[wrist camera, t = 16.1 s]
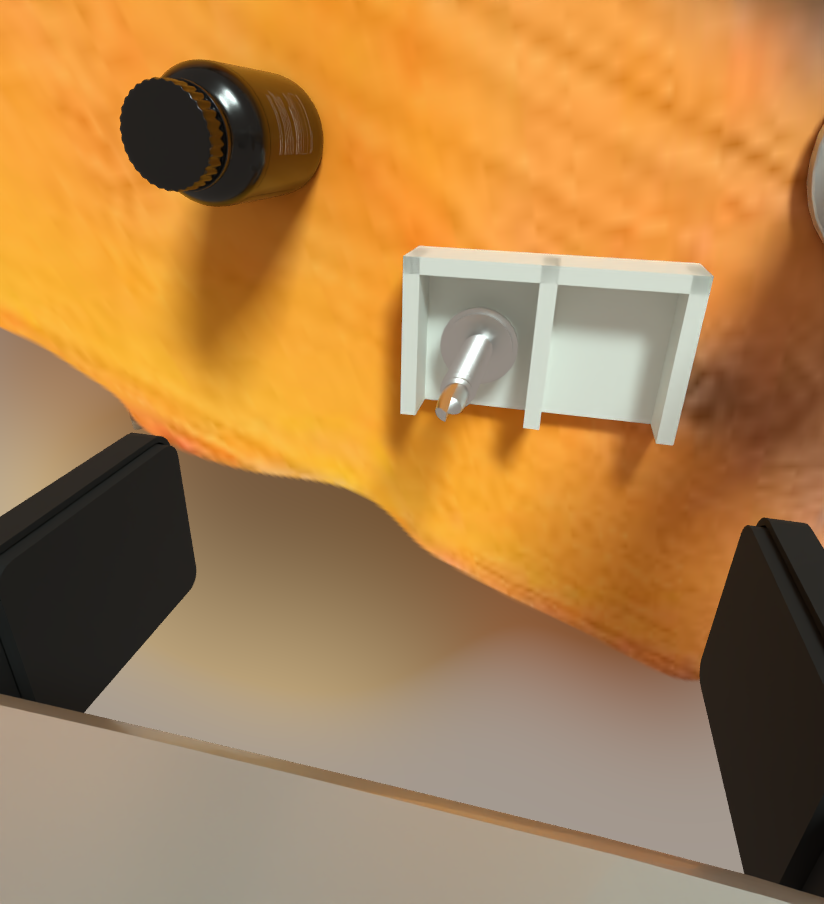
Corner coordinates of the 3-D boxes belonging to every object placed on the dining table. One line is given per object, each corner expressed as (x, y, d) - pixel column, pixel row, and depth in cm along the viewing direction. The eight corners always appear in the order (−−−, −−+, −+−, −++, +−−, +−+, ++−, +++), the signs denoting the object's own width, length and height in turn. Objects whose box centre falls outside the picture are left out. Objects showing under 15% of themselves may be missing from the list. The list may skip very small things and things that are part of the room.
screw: (530, 311, 39) (508, 381, 41) (456, 291, 39) (438, 361, 42) (511, 380, 28) (482, 471, 30) (408, 350, 28) (387, 442, 30)
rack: (699, 263, 37) (713, 276, 33) (664, 418, 41) (673, 445, 37) (418, 245, 40) (403, 256, 36) (414, 391, 44) (400, 413, 41)
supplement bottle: (239, 54, 38) (109, 19, 27) (340, 101, 37) (249, 85, 27) (215, 169, 41) (91, 178, 30) (308, 213, 41) (215, 237, 30)
